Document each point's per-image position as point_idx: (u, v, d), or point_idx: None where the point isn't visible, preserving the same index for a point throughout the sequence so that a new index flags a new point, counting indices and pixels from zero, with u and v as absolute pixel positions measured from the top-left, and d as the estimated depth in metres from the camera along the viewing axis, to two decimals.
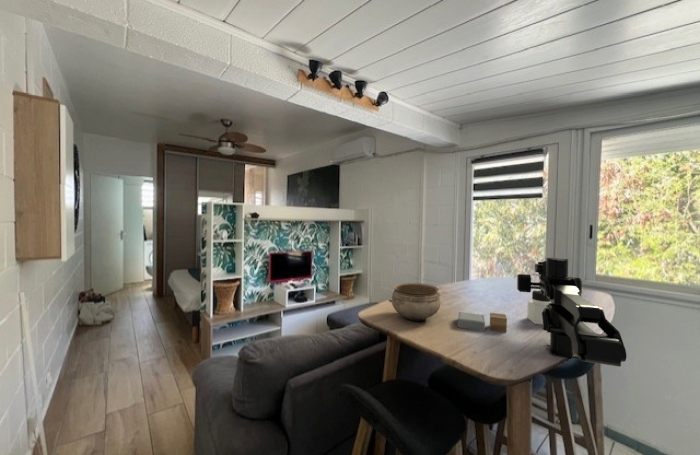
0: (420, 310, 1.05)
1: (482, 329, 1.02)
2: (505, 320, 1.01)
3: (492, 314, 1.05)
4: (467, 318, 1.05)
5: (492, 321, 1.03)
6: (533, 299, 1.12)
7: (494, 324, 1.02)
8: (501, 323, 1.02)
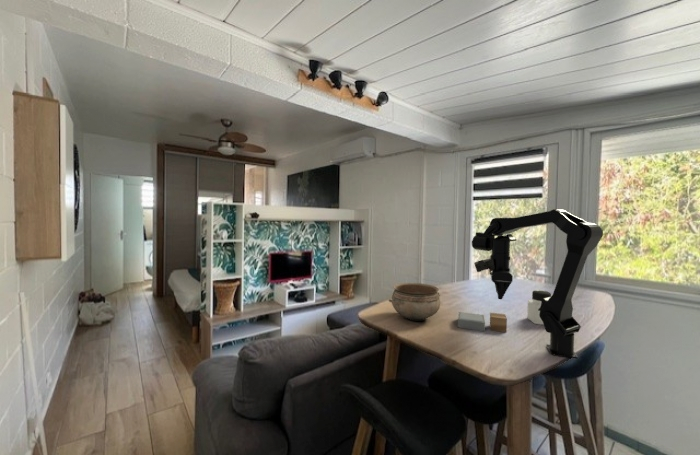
0: (420, 310, 1.05)
1: (482, 329, 1.02)
2: (505, 320, 1.01)
3: (492, 314, 1.05)
4: (467, 318, 1.05)
5: (492, 321, 1.03)
6: (533, 299, 1.12)
7: (494, 324, 1.02)
8: (501, 323, 1.02)
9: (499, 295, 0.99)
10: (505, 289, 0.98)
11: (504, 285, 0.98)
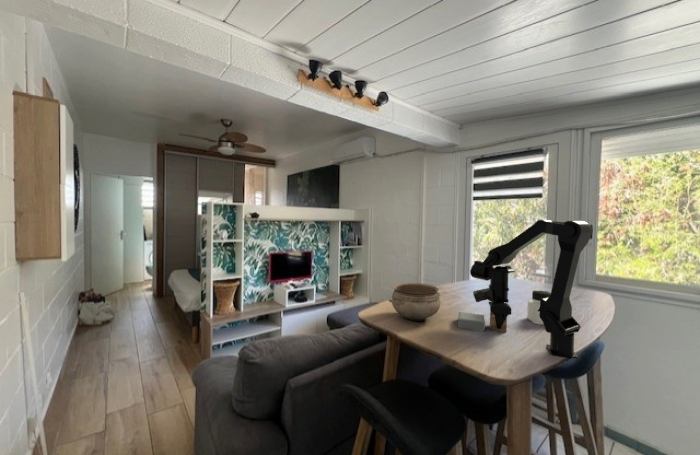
0: (420, 310, 1.05)
1: (482, 329, 1.02)
2: None
3: (492, 314, 1.05)
4: (467, 318, 1.05)
5: (492, 320, 1.03)
6: (533, 299, 1.12)
7: (494, 323, 1.03)
8: None
9: (498, 324, 1.01)
10: (503, 319, 1.00)
11: (502, 315, 1.00)
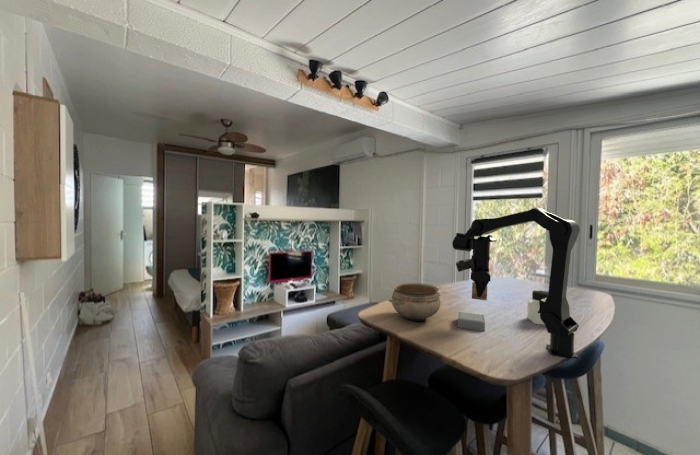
0: (420, 310, 1.05)
1: (482, 329, 1.02)
2: (486, 288, 1.03)
3: (474, 283, 1.08)
4: (467, 318, 1.05)
5: (473, 289, 1.05)
6: (533, 299, 1.12)
7: (475, 292, 1.05)
8: None
9: (478, 293, 1.04)
10: (484, 287, 1.02)
11: (483, 283, 1.02)
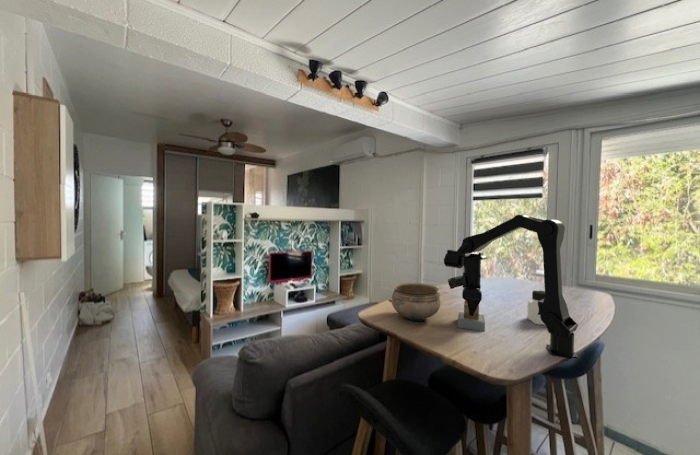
0: (420, 310, 1.05)
1: (482, 329, 1.02)
2: (477, 307, 1.04)
3: (466, 302, 1.09)
4: (467, 318, 1.05)
5: (465, 308, 1.06)
6: (533, 299, 1.12)
7: (467, 311, 1.06)
8: None
9: (470, 312, 1.03)
10: (476, 306, 1.02)
11: (475, 302, 1.01)
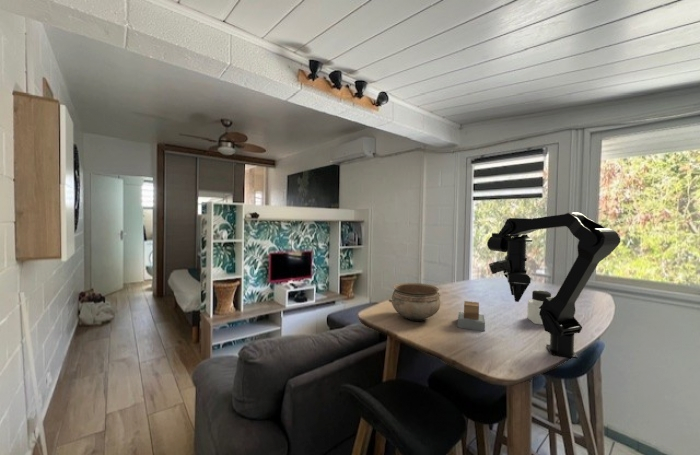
0: (420, 310, 1.05)
1: (482, 329, 1.02)
2: (477, 307, 1.04)
3: (466, 302, 1.09)
4: (467, 318, 1.05)
5: (465, 308, 1.06)
6: (533, 299, 1.12)
7: (467, 311, 1.06)
8: (474, 310, 1.05)
9: (516, 297, 0.96)
10: (522, 291, 0.95)
11: (521, 287, 0.95)
